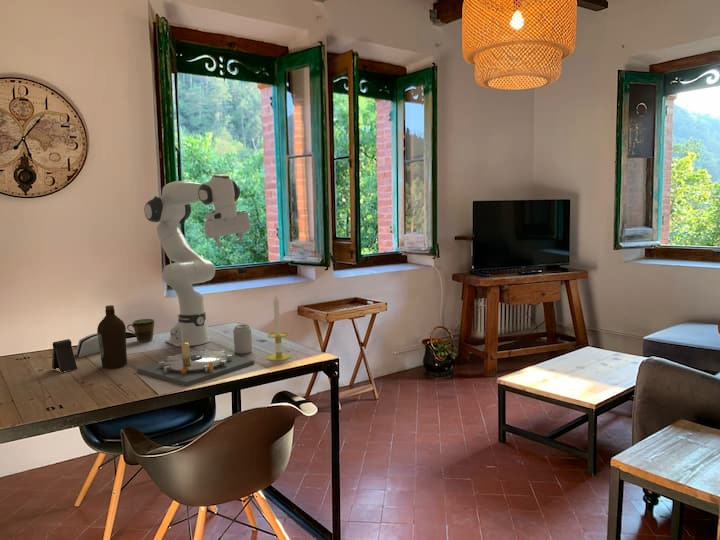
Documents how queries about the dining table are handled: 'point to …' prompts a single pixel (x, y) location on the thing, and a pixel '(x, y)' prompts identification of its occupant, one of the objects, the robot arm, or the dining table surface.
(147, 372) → the index plate
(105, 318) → the olive oil
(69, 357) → the door stopper
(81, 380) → the dining table surface
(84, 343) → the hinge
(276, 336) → the candle
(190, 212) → the robot arm
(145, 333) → the ceramic cup
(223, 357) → the sprocket
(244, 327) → the can
